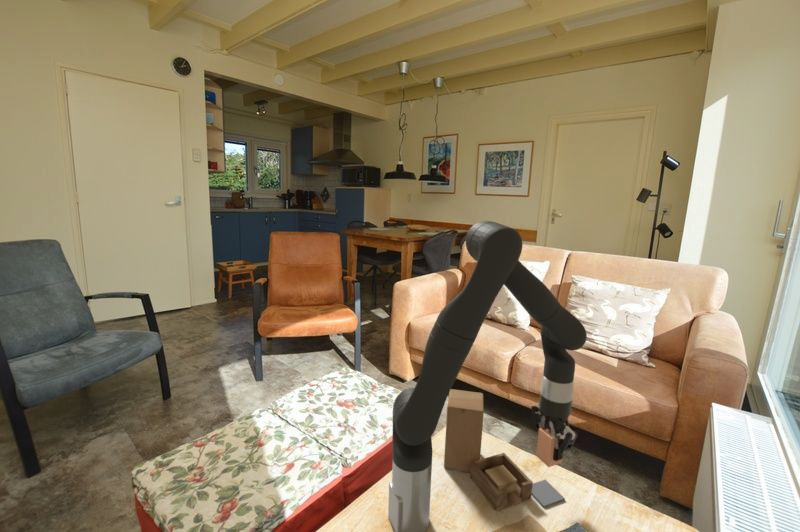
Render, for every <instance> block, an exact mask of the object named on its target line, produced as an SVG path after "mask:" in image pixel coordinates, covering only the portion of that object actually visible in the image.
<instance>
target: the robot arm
mask: <svg viewBox="0 0 800 532" xmlns="http://www.w3.org/2000/svg"><path fill="white" fill-rule="evenodd" d="M465 247H466V250H467V252H468V255H470V257H471V258H472V259H473V260H474V261H475V262H476V264H475V267H474V269H473V271H472V273H471V276H470V278H469V280H468V281H467V283H466V285H465V286H464V287H463V289H462V290H461V291H460V292H458V294H457V295H456V296H454V297H453V298H452V299H451V301H449V302H448V303H447V304H446V305H445V306H444V307H443V308H442V310H441V311H440V313H439V315H437V318H436V320H435V322H434V325H433V327H432V329H431V331H430V334H429V336H428V338H427V341H426V345H425V347H424V353H423V356H422V362H421V367H420V372H419V375H418V376H419V377H418V378H417V381H416V384H415V387H409V388H405V389H404V390H402V391H401V392H400V393H399V394H397V396H396V398H395V399H394V402H393V405H392V436H391V437H392V469H391V470H392V471H391V474H392V476H391V477H392V478H391V482H389V483H388V508H387V509H388V510H387V511H388V513H387V515H388V516H387V517H388V519H389V521H390V524H391V526H392V529H393V531H394V532H426V531H427V530H428V527H429V524H430V510H431V508H430V507H431V491H432V490H431V488H432V486H431V485H432V470H433V469H432V468H433V443H432V439H433V438H432V436H433V435H434V433H435V431H436V429H437V426H438V424H439V421H440V418H441V415H442V413H443V409H444V406H445V403H446V401H447V398H448V397H449V391H450V389H452V387H453V385H454V383H455V381H456V379H457V378H458V376H459V374H460V371H461V369H462V367H463V365H464V363H465V361H466V360H467V358H468V355H469V353H470V352H471V350H472V347H473V345H474V343H475V341H476V339H477V337H478V335H479V332H480V330H481V328H482V325H483V324H484V322H485V319H486V318H487V316H488V314H489V312H490V310H491V308H492V306H493V304H494V302H495V300H496V298H497V297H498V295H499V293H500V291H501V289H503V287H504V286H505V287H506V288H507V290H508V291H509V292H510V293H511V294H512V296H514V298H515V299H516V300H517V302H518V303H519V304H520V305H521V307H523V309H524V310H525V311H526V312H527V314H528V315H529V316H530V317H531V318H532V319H533V321H535V323H537V324H539V326H541V327H540V339H541V344H542V345H541V346H542V351H543V355H544V356H543V357H544V365H543V374H542V379H541V382H540V383H541V384H540V390H539V391H540V392H539V400H538V401H539V403H538V404H535V405H531V407H530V408H531V414H532V425H533V428H534V429H535V430H537V435H538V434H539V429H540V428H541V429H545V428H547V429H549V430H550V431H551V434H552V438H553V439H555V442H554V445H555V447H554V454H553V460H554V461H559V460H561V459H562V458H563V459H564V452H567V451H569V450H571V449H572V448H573V446H574V444H575V442H576V440H577V438H578V435H579V433H578V432H577V430H572V429H571V428H570V426H569V425H570V424H569V423H570V422H569V417H570V415H571V414H572V406H573V397H574V389H575V388H574V379H575V371H576V360H575V358H574V357H573V356H572V355H571V354H570V353H569V352H568V351H578V350H580V349H581V348H583V347H584V345H585V343H586V342H587V338H588V337H587V335H588V334H587V331H586V328H585V326H584V324H583V323H582V322H581V321H580V320H579V318H577V317H576V316H574V315H573V314H572V313H571V312H570V311H569V310H568V309H566V308H565V307H564V306H563V305H561V303H560V302H559V300H558V299H557V298H556V297H555V295H554V294H553V293H552V291H551V290H550V289H549V288H548V287H547V285H545V283H543V281H541V279H539V278H538V277H537V276H536V275H535V274H533V272H531V271H530V270H529V269H528V268H527V266H525V265H524V264H523V263H522V262H521V261H520V260H519V259H520V257H521V255H522V251H523V238H522V236H521V234H520V233H519V232H518V231H517V230H516V229H514V228H512V227H510V226H507V225H504V224H501V223H498V222H495V221H491V220H483V221H482V220H481V221H478V222H477V223H475V224H473V225H472V226H471V227H470V228H469V229H468V231H467V233H466V236H465ZM558 433H560V434H558ZM559 439H561V440H560V443H559ZM563 451H564V452H563Z"/></svg>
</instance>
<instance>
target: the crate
mask: <svg viewBox="0 0 800 532" xmlns="http://www.w3.org/2000/svg"><path fill="white" fill-rule="evenodd" d="M470 479H471V481H472V482H473V483H474V485H475V486H476V487H477V488H478V490H479V491H480V492H481V493H482V494H483V496H484V497H485V498H486V500H487V501H488V503H490V505H491V506H492V507H493V509H494V510H495V511H496V512H497V511H500V510H503V509H506V508H509V507H511V506H514V505H517V504H520V503H523V502H526V501H529V500H531V499H532V495H531V494H532V485H533V483H534V482H533V481H532V480H531V479H530V478H529V477H528V476H527V475H526V474H525V472H523V470H521V468H519V467H518V466H517V464H515V462H514V461H513V460H512V459H511V458H510V456H508V455H507V454H506V453H505V452H502V453H501V452H500V453H499V454H495V455H492V456H488V457H484V458H480V460H477V461H473V462H471V473H470Z"/></svg>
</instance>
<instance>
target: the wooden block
mask: <svg viewBox="0 0 800 532" xmlns="http://www.w3.org/2000/svg"><path fill="white" fill-rule="evenodd" d="M447 398H448V399H447V405H446V422H445V424H446V425H445V441H444V455H443V456H444V458H443V467H444V469H447V470H452V471H453V470H454V471H458V472H465V473H469V474H471V462H473V461H477V460H480V459H481V453H482V450H481V449H482V439H483V438H482V437H483V425H484V412H485V411H484V393H482V392H476V391H468V390H461V389H453V388H451V389H450V391H449V394H448V397H447Z"/></svg>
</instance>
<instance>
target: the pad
mask: <svg viewBox="0 0 800 532" xmlns="http://www.w3.org/2000/svg"><path fill="white" fill-rule="evenodd" d="M531 497H532V498H534V500H535V501H536V502H537V503H538V504H539V505H540V506H541V507H542V508H543V509H545V508H547V507H550V506H553V505H555V504H558V503H561V502H563V501H565V499H566V498H565V497H564V495H562V494H561V493H560V492H559V491H558V490H557V489H556V488H555V487H554V486H553V485H552V484H550V482H549V481H547V479H543V480H542V479H541V480H540V481H537V482H533V485H532V494H531Z"/></svg>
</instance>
